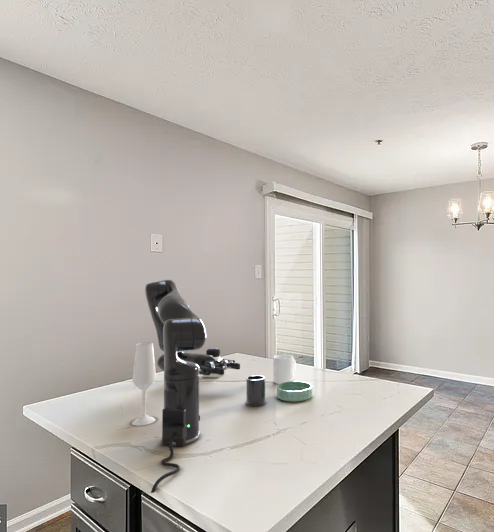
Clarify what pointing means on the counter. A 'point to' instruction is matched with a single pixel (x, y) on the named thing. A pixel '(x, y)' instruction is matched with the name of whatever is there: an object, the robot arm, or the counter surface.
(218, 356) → the medicine bottle
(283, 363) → the mug
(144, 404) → the champagne flute
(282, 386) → the bowl
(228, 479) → the counter surface
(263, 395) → the cup
